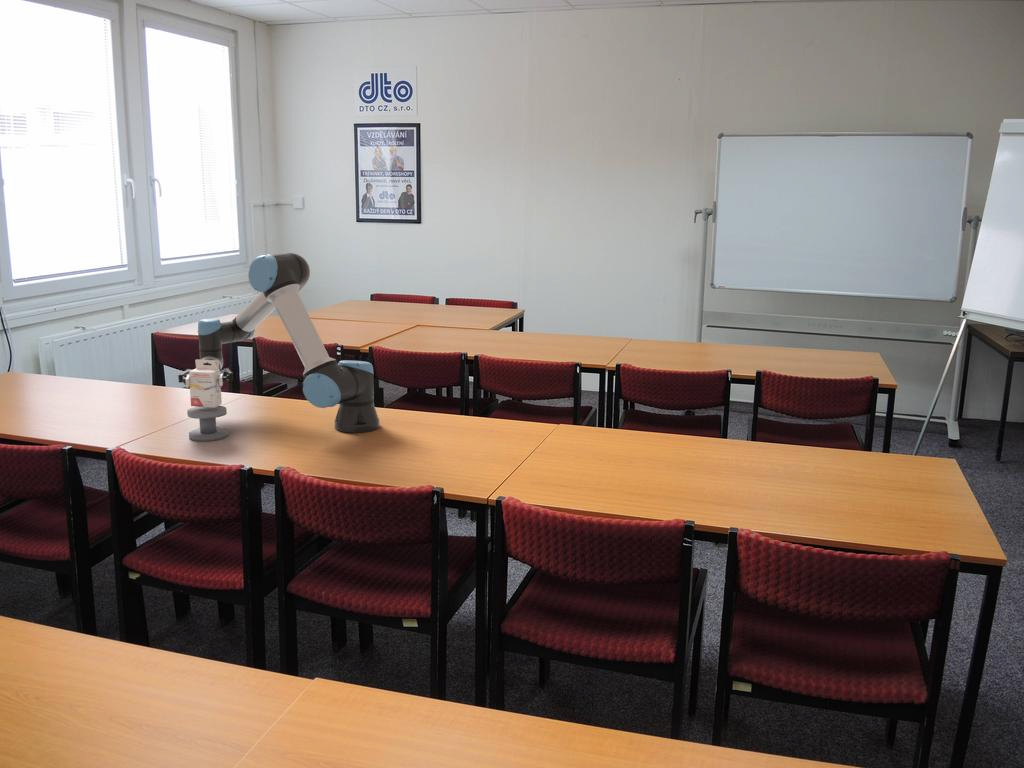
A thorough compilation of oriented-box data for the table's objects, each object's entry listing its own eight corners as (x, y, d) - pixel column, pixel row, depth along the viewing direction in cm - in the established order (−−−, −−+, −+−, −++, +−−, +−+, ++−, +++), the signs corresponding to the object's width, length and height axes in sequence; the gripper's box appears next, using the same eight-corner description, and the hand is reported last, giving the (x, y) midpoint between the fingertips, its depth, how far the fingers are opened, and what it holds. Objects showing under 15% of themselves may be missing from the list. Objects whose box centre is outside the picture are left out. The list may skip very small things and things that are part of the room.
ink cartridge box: (190, 406, 268) (187, 361, 265) (197, 403, 273) (194, 359, 269) (215, 407, 267) (212, 362, 264) (222, 404, 272) (219, 360, 269)
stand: (235, 434, 275) (234, 407, 273) (209, 443, 264) (207, 416, 262) (208, 429, 280) (206, 403, 278) (180, 438, 269) (178, 411, 267)
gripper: (243, 378, 289) (240, 392, 267) (175, 380, 283) (167, 395, 262) (242, 357, 287) (239, 369, 266) (174, 359, 281) (165, 372, 260)
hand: (203, 382), depth 264 cm, fingers closed on ink cartridge box, 9 cm apart
